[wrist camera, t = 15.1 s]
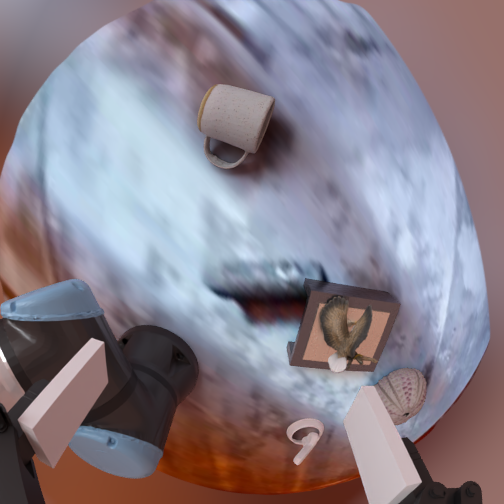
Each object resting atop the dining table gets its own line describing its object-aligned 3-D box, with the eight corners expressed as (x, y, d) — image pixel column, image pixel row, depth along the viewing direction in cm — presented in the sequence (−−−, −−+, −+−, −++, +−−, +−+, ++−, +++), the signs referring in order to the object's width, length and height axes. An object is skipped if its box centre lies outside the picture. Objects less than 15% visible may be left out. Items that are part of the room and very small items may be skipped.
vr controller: (275, 428, 42) (311, 445, 39) (301, 406, 52) (331, 419, 49) (263, 457, 42) (296, 473, 39) (290, 433, 52) (318, 445, 49)
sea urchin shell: (426, 356, 45) (446, 379, 37) (411, 405, 48) (425, 429, 40) (366, 369, 45) (381, 396, 37) (356, 418, 48) (366, 445, 41)
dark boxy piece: (363, 355, 44) (374, 372, 39) (286, 347, 44) (290, 366, 39) (387, 291, 42) (401, 304, 36) (305, 278, 41) (311, 291, 36)
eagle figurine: (383, 341, 37) (378, 292, 33) (373, 381, 31) (368, 333, 28) (334, 339, 41) (323, 293, 37) (319, 375, 36) (305, 330, 32)
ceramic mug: (219, 90, 35) (210, 72, 28) (274, 107, 36) (278, 91, 28) (193, 159, 38) (179, 154, 30) (249, 177, 38) (247, 176, 31)
